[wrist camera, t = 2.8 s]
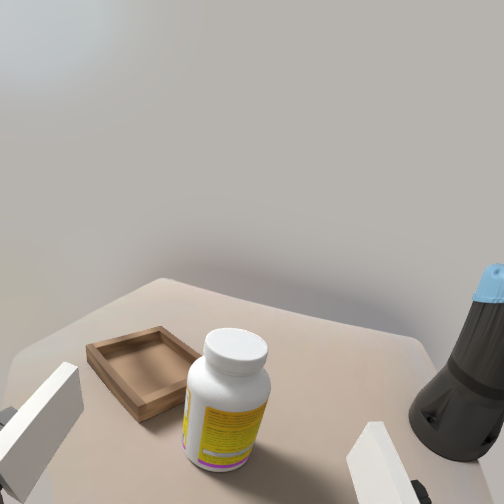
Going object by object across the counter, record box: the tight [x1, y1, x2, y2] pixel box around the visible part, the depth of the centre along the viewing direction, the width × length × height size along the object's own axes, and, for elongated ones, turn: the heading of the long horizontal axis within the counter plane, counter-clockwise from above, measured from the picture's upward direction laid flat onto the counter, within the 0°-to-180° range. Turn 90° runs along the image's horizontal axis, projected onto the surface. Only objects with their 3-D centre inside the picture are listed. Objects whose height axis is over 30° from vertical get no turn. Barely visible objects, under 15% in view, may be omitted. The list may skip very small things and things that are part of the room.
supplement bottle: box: [182, 328, 271, 472], centre depth 23 cm, size 7×7×13 cm
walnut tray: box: [86, 326, 202, 423], centre depth 33 cm, size 12×12×2 cm
